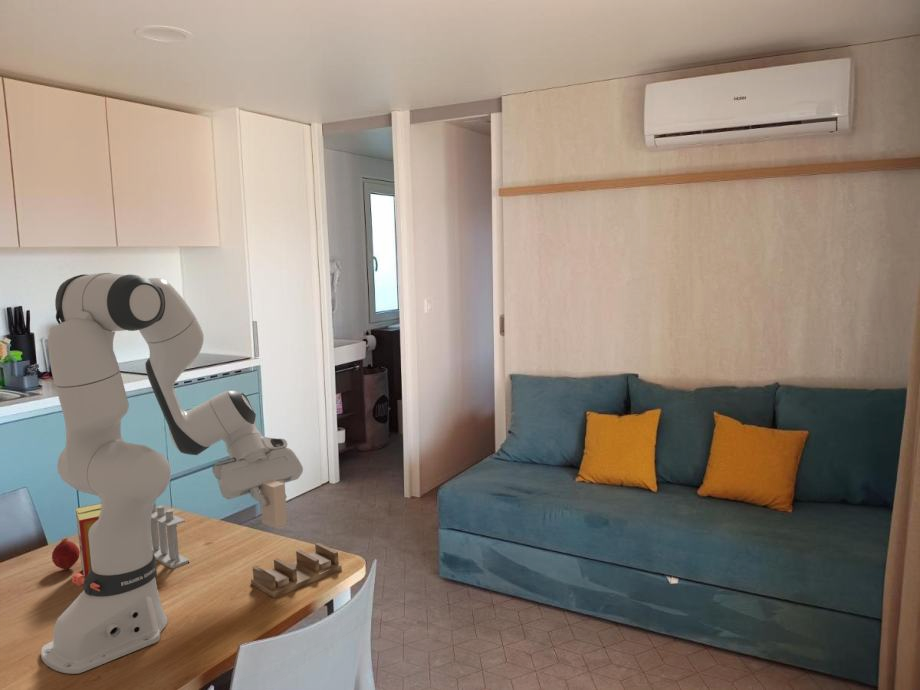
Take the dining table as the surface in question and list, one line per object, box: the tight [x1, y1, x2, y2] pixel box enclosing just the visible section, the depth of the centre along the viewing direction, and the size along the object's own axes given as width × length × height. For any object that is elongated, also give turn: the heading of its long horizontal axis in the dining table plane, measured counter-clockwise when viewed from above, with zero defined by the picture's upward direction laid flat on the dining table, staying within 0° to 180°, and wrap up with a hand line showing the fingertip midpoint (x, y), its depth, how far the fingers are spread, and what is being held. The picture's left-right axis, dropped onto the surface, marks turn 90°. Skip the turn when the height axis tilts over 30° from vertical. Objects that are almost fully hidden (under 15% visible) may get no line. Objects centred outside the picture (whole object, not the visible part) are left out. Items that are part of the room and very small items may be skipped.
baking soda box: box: [75, 502, 101, 577], centre depth 164 cm, size 10×6×16 cm
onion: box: [51, 536, 81, 570], centre depth 167 cm, size 6×6×8 cm
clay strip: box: [259, 480, 288, 530], centre depth 161 cm, size 3×6×10 cm, turn 47°
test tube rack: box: [151, 501, 190, 570], centre depth 175 cm, size 25×4×13 cm, turn 49°
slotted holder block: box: [250, 542, 343, 599], centre depth 161 cm, size 18×10×4 cm, turn 136°
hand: (274, 502), depth 161 cm, fingers closed on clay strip, 3 cm apart
